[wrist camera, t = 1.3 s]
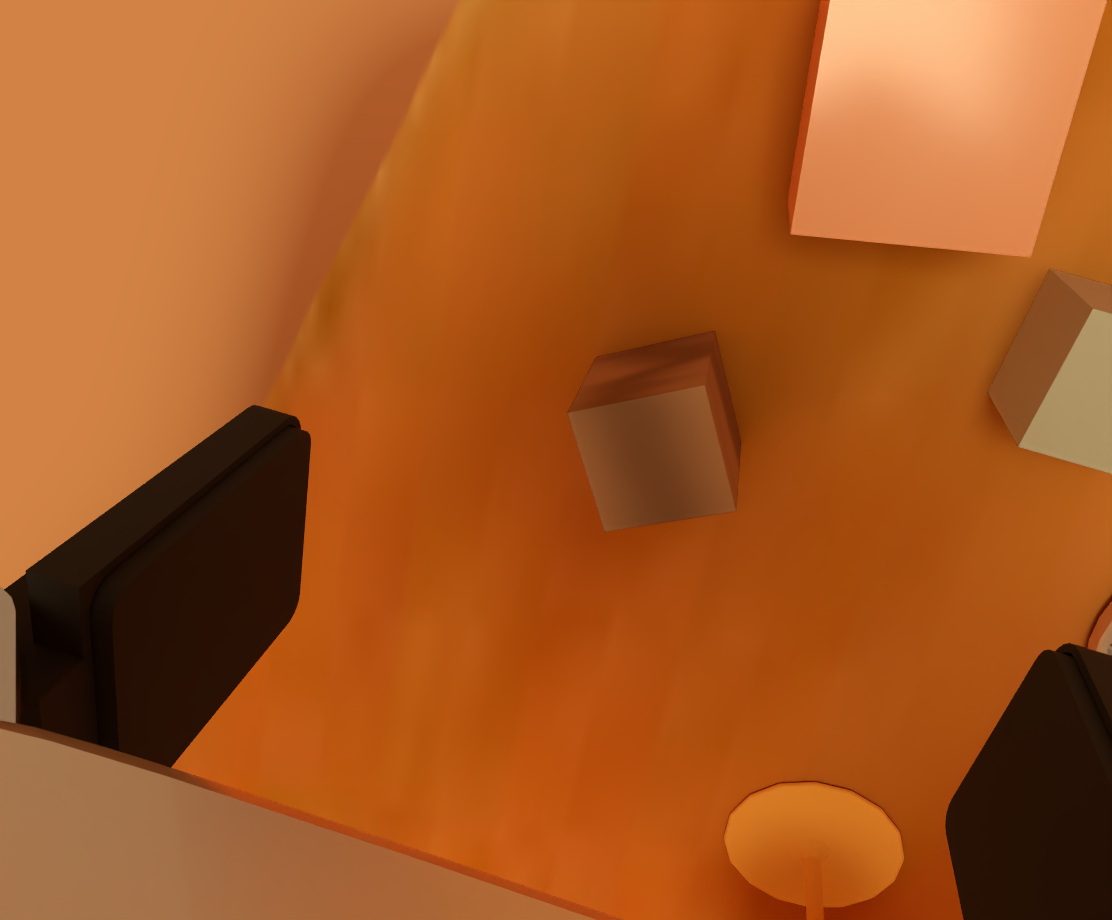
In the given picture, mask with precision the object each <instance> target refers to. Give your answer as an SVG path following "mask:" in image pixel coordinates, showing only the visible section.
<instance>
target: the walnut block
mask: <svg viewBox="0 0 1112 920" xmlns="http://www.w3.org/2000/svg"><path fill="white" fill-rule="evenodd" d="M567 414H568V417H569V420H570V423H571V427H572V430H573V433H574V436H575V439H576V442H577V446H578V449H579V452H580V455H581V458H582V461H583V464H584V468H585V471H586V474H587V477H588V480H589V483H590V487H591V490H592V493H593V496H594V499H595V502H596V506H597V509H598V512H599V515H600V518H601V521H602V524H603V528H604V531H605V532H607V531H613V530H620V529H626V528H633V527H639V526H645V525H652V524H658V523H665V522H671V521H677V520H684V519H690V518H697V517H703V516H709V515H716V514H722V513H729V512H735V511H736V507H737V493H738V480H739V466H740V453H741V439H740V434H739V430H738V426H737V422H736V418H735V414H734V409H733V405H732V401H731V397H730V393H729V389H728V384H727V380H726V376H725V372H724V368H723V363H722V359H721V355H720V351H719V347H718V343H717V338H716V334H715V331H711V332H707V333H702V334H698V335H693V336H689V337H684V338H680V339H675V340H671V341H666V342H662V343H657V344H653V345H648V346H644V347H639V348H635V349H630V350H626V351H621V352H617V353H612V354H608V355H603V356H599V357H596V358H595V360H594V362H593V364H592V366H591V368H590V370H589V372H588V374H587V376H586V378H585V380H584V381H583V383H582V385H581V387H580V389H579V391H578V393H577V395H576V397H575V399H574V401H573V403H572V405H571V407H570V409H569V411H568V413H567Z"/></svg>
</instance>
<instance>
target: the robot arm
mask: <svg viewBox="0 0 1112 920" xmlns="http://www.w3.org/2000/svg"><path fill="white" fill-rule="evenodd" d="M310 449H311V438H310V434H309V433H308V432H307V431H304V430H301V426H300V422H299V420H298V419H297V417H295V416H292V415H288V414H285V413H281V412H278V411H274V410H271V409H268V408H264V407H261V406H256V405H253V406H251V407H249V408H247V409H246V410H244V411H243V412H242V413H241V414H239V415H238V416H236V417H235V418H234V419H232V420H231V421H230V422H228V423H227V424H225V425H224V426H223V427H221V428H220V429H218V430H217V431H216V432H214V433H213V434H212V435H210V436H209V437H208V438H206V439H205V440H203V441H202V442H201V443H199V444H198V445H197V446H195V447H194V448H193V449H191V450H190V451H188V452H187V453H186V454H184V455H183V456H182V457H180V458H179V459H177V460H176V461H175V462H174V463H172V464H171V465H169V466H168V467H167V468H165V469H164V470H162V471H161V472H160V473H158V474H157V475H156V476H154V477H153V478H152V479H150V480H149V481H147V482H146V483H145V484H143V485H142V486H141V487H139V488H138V489H137V490H135V491H134V492H132V493H131V494H130V495H128V496H127V497H126V498H124V499H123V500H122V501H120V502H119V503H117V504H116V505H115V506H113V507H112V508H111V509H109V510H108V511H107V512H105V513H104V514H102V515H101V516H100V517H98V518H97V519H96V520H94V521H93V522H91V523H90V524H89V525H87V526H86V527H85V528H83V529H82V530H81V531H79V532H78V533H76V534H75V535H74V536H73V537H71V538H70V539H68V540H67V541H66V542H64V543H63V544H61V545H60V546H59V547H57V548H56V549H55V550H53V551H52V552H51V553H49V554H48V555H47V556H45V557H44V558H43V559H41V560H40V561H38V562H37V563H35V564H34V565H33V566H31V567H30V568H29V569H28V570H26V574H25V575H24V576H22V577H21V578H19V579H18V580H17V581H15V582H14V583H13V584H11V585H10V586H8V587H7V588H6V589H4V590H3V589H2V588H1V587H0V920H622V919H619V918H617V917H614V916H611V915H608V914H605V913H602V912H599V911H596V910H593V909H590V908H587V907H584V906H582V905H579V904H576V903H573V902H570V901H567V900H564V899H561V898H558V897H555V896H552V895H549V894H546V893H543V892H541V891H538V890H535V889H532V888H529V887H526V886H523V885H520V884H517V883H514V882H511V881H508V880H505V879H502V878H500V877H497V876H494V875H491V874H488V873H485V872H482V871H479V870H476V869H473V868H470V867H467V866H464V865H461V864H459V863H456V862H453V861H450V860H447V859H444V858H441V857H438V856H435V855H432V854H429V853H426V852H423V851H420V850H417V849H414V848H411V847H408V846H405V845H402V844H399V843H396V842H393V841H390V840H387V839H384V838H381V837H378V836H375V835H372V834H369V833H366V832H363V831H360V830H357V829H355V828H352V827H349V826H346V825H343V824H340V823H337V822H334V821H331V820H328V819H325V818H322V817H319V816H316V815H313V814H310V813H307V812H304V811H301V810H298V809H295V808H292V807H289V806H286V805H283V804H280V803H277V802H274V801H271V800H268V799H265V798H262V797H259V796H256V795H253V794H250V793H247V792H244V791H241V790H238V789H235V788H232V787H229V786H226V785H223V784H220V783H217V782H214V781H211V780H207V779H204V778H201V777H198V776H195V775H192V774H189V773H186V772H183V771H179V770H176V769H173V768H171V767H172V765H173V764H174V763H175V762H176V761H177V759H178V758H179V757H180V756H181V754H182V753H183V752H184V751H185V749H186V748H187V747H188V746H189V745H190V743H191V742H192V741H193V740H194V738H195V737H196V736H197V735H198V734H199V732H200V731H201V730H202V729H203V727H204V726H205V725H206V724H207V722H208V721H209V720H210V719H211V718H212V716H213V715H214V714H215V713H216V711H217V710H218V709H219V708H220V706H221V705H222V704H223V703H224V702H225V700H226V699H227V698H228V697H229V695H230V694H231V693H232V692H233V690H234V689H235V688H236V687H237V686H238V684H239V683H240V682H241V681H242V679H243V678H244V677H245V676H246V675H247V673H248V672H249V671H250V670H251V668H252V667H253V666H254V665H255V663H256V662H257V661H258V660H259V659H260V657H261V656H262V655H263V654H264V652H265V651H266V650H267V649H268V647H269V646H270V645H271V644H272V643H273V641H274V640H275V639H276V638H277V636H278V635H279V634H280V633H281V632H282V630H283V629H284V628H285V627H286V625H287V624H288V623H289V621H290V620H291V618H292V616H293V615H294V613H295V610H296V608H297V605H298V601H299V596H300V584H301V571H302V557H303V544H304V530H305V517H306V503H307V489H308V476H309V462H310ZM946 835H947V840H948V845H949V850H950V855H951V860H952V865H953V870H954V875H955V880H956V884H957V889H958V894H959V899H960V904H961V909H962V914H963V919H964V920H1112V601H1111V603H1110V604H1109V605H1108V607H1107V608H1106V609H1105V610H1104V612H1103V613H1102V614H1101V616H1100V617H1099V619H1098V622H1097V624H1096V626H1095V628H1094V630H1093V632H1092V634H1091V636H1090V638H1089V643H1088V648H1084V647H1081V646H1078V645H1074V644H1071V643H1068V644H1063V645H1062V646H1061V647H1059V648H1058V649H1057V650H1056V651H1052V650H1045V651H1043V652H1042V653H1041V654H1040V655H1039V656H1038V657H1037V659H1036V660H1035V662H1034V664H1033V665H1032V667H1031V669H1030V670H1029V672H1028V674H1027V675H1026V677H1025V679H1024V680H1023V682H1022V684H1021V685H1020V687H1019V689H1018V690H1017V692H1016V693H1015V695H1014V697H1013V698H1012V700H1011V702H1010V703H1009V705H1008V707H1007V708H1006V710H1005V712H1004V713H1003V715H1002V717H1001V718H1000V720H999V722H998V723H997V725H996V727H995V728H994V730H993V732H992V733H991V735H990V737H989V738H988V740H987V742H986V743H985V745H984V747H983V748H982V750H981V752H980V753H979V755H978V757H977V758H976V760H975V762H974V763H973V765H972V766H971V768H970V770H969V771H968V773H967V775H966V776H965V778H964V780H963V781H962V783H961V785H960V786H959V788H958V790H957V791H956V793H955V795H954V796H953V798H952V800H951V802H950V804H949V807H948V810H947V815H946Z"/></svg>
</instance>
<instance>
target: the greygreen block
mask: <svg viewBox="0 0 1112 920" xmlns="http://www.w3.org/2000/svg"><path fill="white" fill-rule="evenodd" d="M988 394H989V396H990V398H991V399H992V401H993V403H994V405H995V407H996V408H997V410H998V412H999V414H1000V415H1001V417H1002V419H1003V421H1004V423H1005V424H1006V426H1007V428H1008V430H1009V432H1010V433H1011V435H1012V437H1013V439H1014V440H1015V442H1016V444H1017V446H1018V447H1020V448H1024V449H1027V450H1031V451H1034V452H1038V453H1041V454H1045V455H1048V456H1051V457H1055V458H1058V459H1062V460H1065V461H1069V462H1072V463H1076V464H1079V465H1083V466H1086V467H1090V468H1093V469H1096V470H1100V471H1103V472H1107V473H1110V474H1112V285H1109V284H1105V283H1101V282H1098V281H1094V280H1090V279H1087V278H1083V277H1079V276H1076V275H1072V274H1068V273H1064V272H1061V271H1057V270H1053V269H1050V270H1049V272H1048V274H1047V276H1046V278H1045V280H1044V282H1043V284H1042V286H1041V287H1040V289H1039V291H1038V293H1037V295H1036V297H1035V299H1034V301H1033V303H1032V305H1031V307H1030V309H1029V311H1028V313H1027V315H1026V317H1025V319H1024V321H1023V323H1022V325H1021V327H1020V329H1019V331H1018V333H1017V335H1016V337H1015V339H1014V341H1013V343H1012V345H1011V347H1010V349H1009V351H1008V353H1007V355H1006V357H1005V359H1004V361H1003V363H1002V365H1001V367H1000V369H999V370H998V372H997V374H996V376H995V378H994V380H993V382H992V384H991V386H990V388H989V390H988Z"/></svg>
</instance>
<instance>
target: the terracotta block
mask: <svg viewBox="0 0 1112 920" xmlns="http://www.w3.org/2000/svg"><path fill="white" fill-rule="evenodd" d="M1106 2H1107V0H820V5H819V11H818V17H817V23H816V29H815V35H814V41H813V48H812V54H811V60H810V66H809V72H808V78H807V84H806V90H805V96H804V102H803V108H802V114H801V120H800V126H799V133H798V139H797V145H796V151H795V157H794V163H793V169H792V175H791V181H790V187H789V193H788V211H789V223H790V234H793V235H803V236H814V237H824V238H835V239H845V240H855V241H866V242H876V243H887V244H897V245H908V246H918V247H929V248H939V249H950V250H960V251H971V252H981V253H992V254H1002V255H1012V256H1023V257H1031V255H1032V252H1033V248H1034V245H1035V242H1036V238H1037V235H1038V231H1039V228H1040V225H1041V221H1042V218H1043V215H1044V211H1045V208H1046V204H1047V201H1048V198H1049V194H1050V191H1051V188H1052V184H1053V181H1054V177H1055V174H1056V171H1057V167H1058V164H1059V161H1060V157H1061V154H1062V150H1063V147H1064V144H1065V140H1066V137H1067V134H1068V130H1069V127H1070V123H1071V120H1072V117H1073V113H1074V110H1075V107H1076V103H1077V100H1078V96H1079V93H1080V90H1081V86H1082V83H1083V80H1084V76H1085V73H1086V69H1087V66H1088V63H1089V59H1090V56H1091V53H1092V49H1093V46H1094V42H1095V39H1096V36H1097V32H1098V29H1099V26H1100V22H1101V19H1102V15H1103V12H1104V9H1105V5H1106Z"/></svg>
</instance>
